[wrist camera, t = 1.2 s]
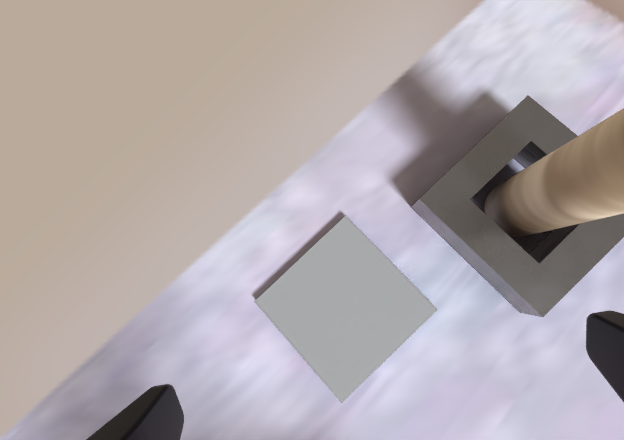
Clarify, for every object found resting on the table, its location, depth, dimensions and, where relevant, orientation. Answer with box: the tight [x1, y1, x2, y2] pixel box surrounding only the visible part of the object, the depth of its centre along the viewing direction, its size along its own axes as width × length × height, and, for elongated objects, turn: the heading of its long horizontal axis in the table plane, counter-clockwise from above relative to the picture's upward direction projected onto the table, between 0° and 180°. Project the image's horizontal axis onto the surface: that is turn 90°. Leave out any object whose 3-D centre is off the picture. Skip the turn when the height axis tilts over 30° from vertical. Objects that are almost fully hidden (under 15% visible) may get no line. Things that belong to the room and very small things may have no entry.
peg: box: [484, 109, 624, 237], centre depth 15 cm, size 4×4×14 cm
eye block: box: [411, 96, 624, 317], centre depth 21 cm, size 9×9×2 cm
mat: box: [254, 216, 438, 403], centre depth 22 cm, size 8×8×1 cm
